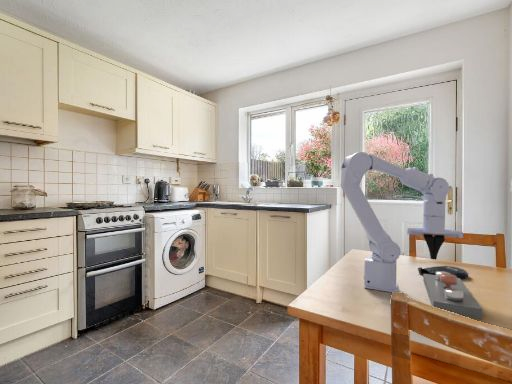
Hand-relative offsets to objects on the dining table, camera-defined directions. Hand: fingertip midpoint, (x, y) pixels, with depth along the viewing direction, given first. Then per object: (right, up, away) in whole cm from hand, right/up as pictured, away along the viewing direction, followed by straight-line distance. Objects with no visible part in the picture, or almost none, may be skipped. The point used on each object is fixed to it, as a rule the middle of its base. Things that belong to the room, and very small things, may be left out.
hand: (433, 258), depth 85 cm
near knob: (-4, -9, -14) cm, 17 cm away
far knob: (+4, -9, +1) cm, 10 cm away
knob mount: (0, -10, -6) cm, 12 cm away
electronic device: (+12, -10, +11) cm, 19 cm away
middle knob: (0, -7, -7) cm, 10 cm away
